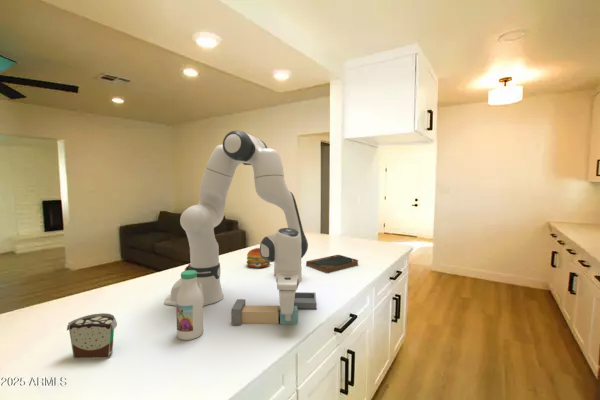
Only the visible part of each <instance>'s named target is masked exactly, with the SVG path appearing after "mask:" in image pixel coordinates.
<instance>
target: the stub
mask: <svg viewBox="0 0 600 400" xmlns="http://www.w3.org/2000/svg"><path fill="white" fill-rule="evenodd" d="M298 310H299V309H297V306H294V308H293V313H292V314H291V320H290V321H286V320H285V315H283V314H282V313H281V309H280V318H279V325H293V324H295V325H298V324H299V311H298Z"/></svg>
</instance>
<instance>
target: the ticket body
mask: <svg viewBox="0 0 600 400" xmlns="http://www.w3.org/2000/svg"><path fill="white" fill-rule="evenodd" d="M230 314H231V315H230V316H231V317H230V320H231V326H241V325H242V324H260V325H261V324H267V325H269V324H271V325H273V324H276V325H278V324H280V305H246V299H243V298H240V299H239V298H238V299H236V300H235V301H234V304H233V306H232V307H231V311H230Z"/></svg>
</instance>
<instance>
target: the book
mask: <svg viewBox="0 0 600 400" xmlns="http://www.w3.org/2000/svg"><path fill="white" fill-rule="evenodd" d="M305 265H306V267H308V268H311V269H314V270H317V271H320V272H322V273H325V274H329V273H333V272H338V271H341V270H346V269H350V268H354V267H356V266H359V260H358V259H356V258H352V257H348V256H345V255H341V254H334V255H331V256H324V257H320V258H315V259H311V260H306V264H305Z"/></svg>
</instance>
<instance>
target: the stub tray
mask: <svg viewBox="0 0 600 400" xmlns="http://www.w3.org/2000/svg"><path fill="white" fill-rule="evenodd" d="M294 306H297V309H298V310H317V295H316V292H308V291H307V292H306V291H305V292H304V291H303V292H302V291H301V292H298V291H296V292H295V299H294Z"/></svg>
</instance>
